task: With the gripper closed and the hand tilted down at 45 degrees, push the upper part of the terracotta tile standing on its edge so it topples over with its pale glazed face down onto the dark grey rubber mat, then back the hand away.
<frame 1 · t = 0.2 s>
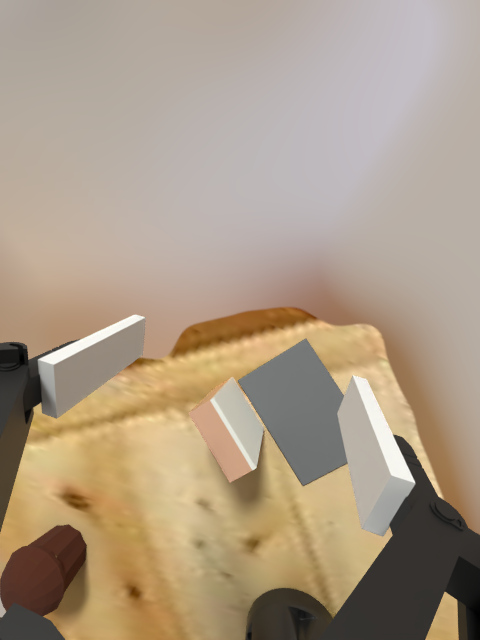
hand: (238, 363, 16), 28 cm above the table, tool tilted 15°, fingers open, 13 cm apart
mat: (304, 411, 42), on the table
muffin: (67, 545, 50), on the table
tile: (238, 407, 44), on the table
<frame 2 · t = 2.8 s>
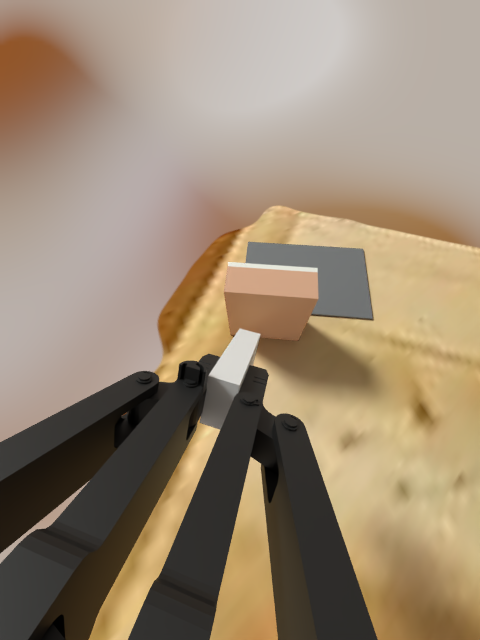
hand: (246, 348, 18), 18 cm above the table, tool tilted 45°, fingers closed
mat: (304, 277, 42), on the table
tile: (264, 325, 39), on the table
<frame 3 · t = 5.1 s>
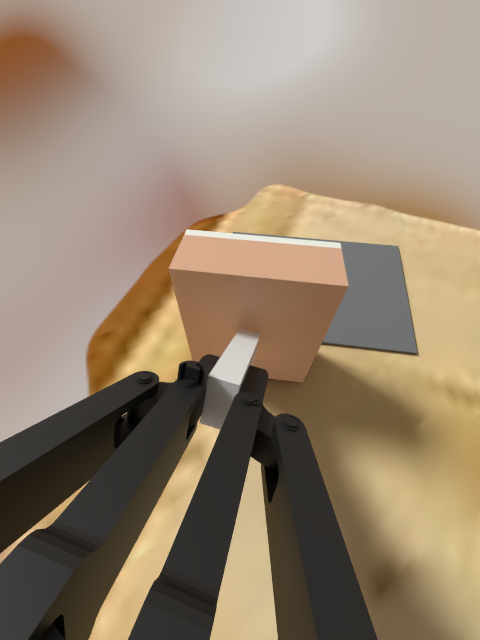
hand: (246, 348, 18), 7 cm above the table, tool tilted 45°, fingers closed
mat: (312, 286, 29), on the table
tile: (250, 356, 25), on the table, tilted 13°, touching gripper
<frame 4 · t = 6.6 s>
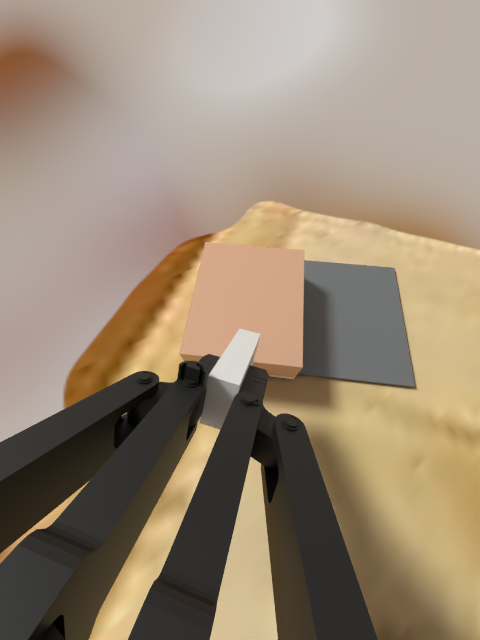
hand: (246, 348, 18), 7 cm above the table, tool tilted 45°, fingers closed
mat: (304, 312, 27), on the table
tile: (240, 367, 22), point 2 cm above the table, tilted 90°, touching mat
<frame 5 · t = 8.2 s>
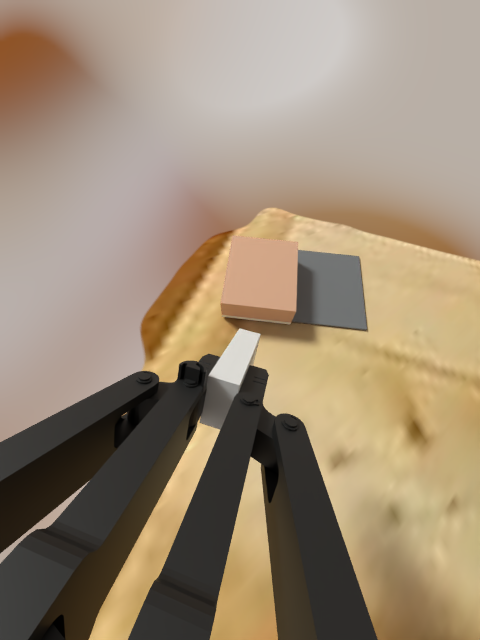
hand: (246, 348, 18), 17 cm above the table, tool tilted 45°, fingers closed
mat: (297, 284, 40), on the table
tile: (257, 314, 35), point 2 cm above the table, tilted 90°, touching mat
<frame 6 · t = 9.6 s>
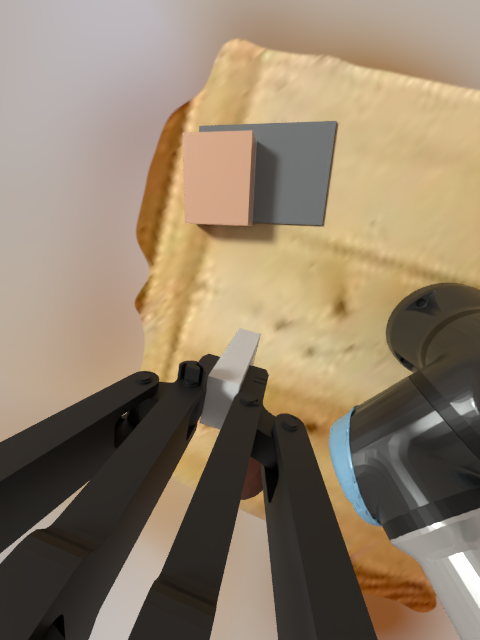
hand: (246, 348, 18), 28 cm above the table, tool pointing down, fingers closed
mat: (261, 176, 40), on the table
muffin: (244, 447, 57), on the table
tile: (219, 224, 41), point 2 cm above the table, tilted 90°, touching mat
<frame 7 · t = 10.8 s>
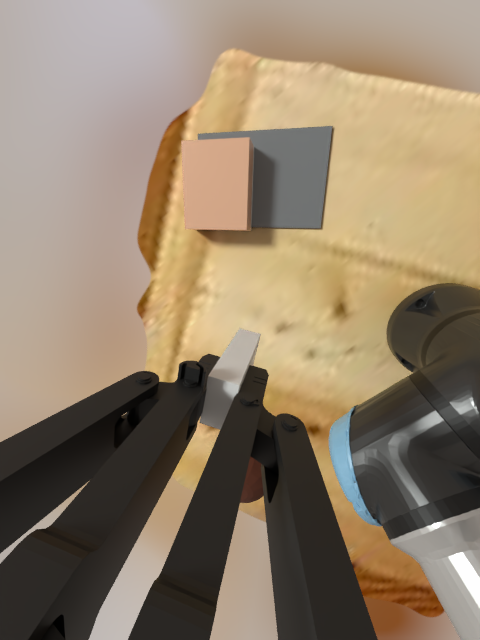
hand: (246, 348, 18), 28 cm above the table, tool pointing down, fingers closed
mat: (259, 181, 40), on the table
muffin: (248, 450, 57), on the table
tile: (218, 229, 42), point 2 cm above the table, tilted 90°, touching mat
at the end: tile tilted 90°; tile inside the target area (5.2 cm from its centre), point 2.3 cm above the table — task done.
